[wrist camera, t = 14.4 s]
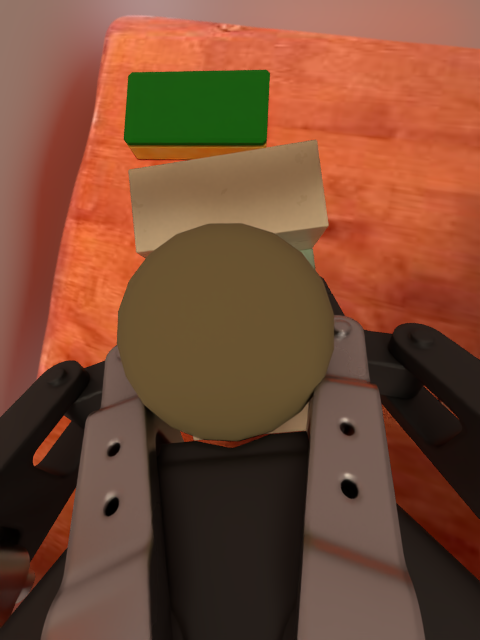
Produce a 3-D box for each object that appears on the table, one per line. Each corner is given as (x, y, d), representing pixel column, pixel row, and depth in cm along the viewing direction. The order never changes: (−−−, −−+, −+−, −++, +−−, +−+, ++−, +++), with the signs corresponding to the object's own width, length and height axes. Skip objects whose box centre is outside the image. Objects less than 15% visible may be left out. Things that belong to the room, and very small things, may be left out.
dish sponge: (265, 160, 24) (266, 141, 21) (135, 160, 25) (122, 141, 22) (268, 94, 24) (270, 68, 22) (140, 96, 25) (127, 70, 22)
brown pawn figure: (181, 349, 15) (4, 394, 4) (224, 269, 15) (153, 120, 4) (262, 393, 15) (287, 566, 4) (305, 311, 15) (446, 258, 4)
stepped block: (313, 413, 22) (364, 487, 12) (202, 423, 23) (159, 502, 13) (288, 224, 23) (317, 138, 13) (183, 239, 24) (127, 169, 13)
